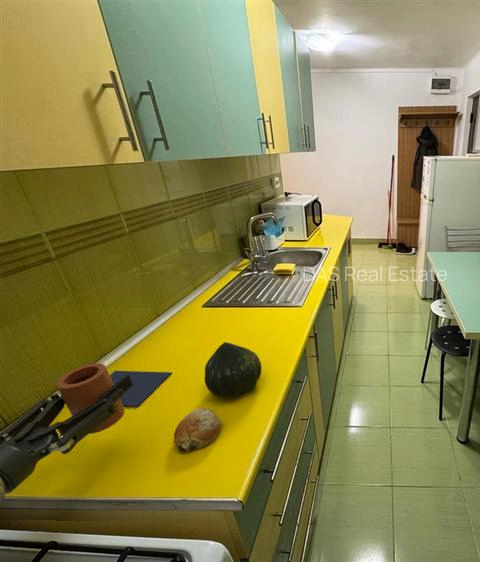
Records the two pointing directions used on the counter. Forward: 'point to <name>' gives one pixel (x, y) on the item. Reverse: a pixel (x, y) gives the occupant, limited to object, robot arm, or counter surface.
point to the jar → (88, 391)
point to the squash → (232, 370)
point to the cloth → (139, 385)
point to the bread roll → (197, 430)
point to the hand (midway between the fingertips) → (111, 379)
